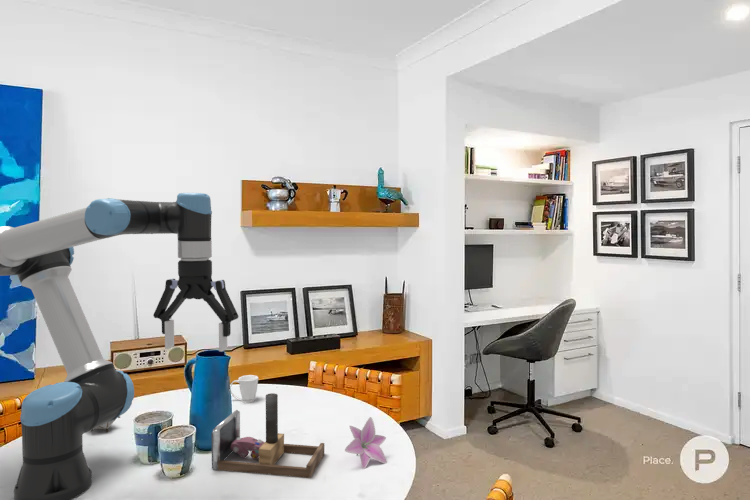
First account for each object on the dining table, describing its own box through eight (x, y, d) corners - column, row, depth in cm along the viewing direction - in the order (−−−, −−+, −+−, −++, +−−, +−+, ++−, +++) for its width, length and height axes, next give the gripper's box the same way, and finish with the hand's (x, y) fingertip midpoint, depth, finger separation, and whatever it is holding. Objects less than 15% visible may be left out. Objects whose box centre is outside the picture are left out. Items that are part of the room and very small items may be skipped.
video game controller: (232, 462, 135) (226, 443, 131) (239, 447, 139) (234, 429, 135) (267, 466, 133) (261, 447, 129) (273, 451, 136) (268, 433, 133)
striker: (270, 469, 126) (270, 402, 126) (258, 468, 127) (258, 401, 126) (284, 452, 136) (283, 389, 136) (273, 451, 137) (273, 388, 136)
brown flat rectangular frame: (310, 477, 123) (310, 465, 123) (216, 469, 127) (216, 457, 127) (324, 454, 136) (324, 443, 136) (238, 447, 140) (238, 436, 140)
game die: (110, 439, 153) (131, 410, 156) (92, 441, 145) (115, 410, 148) (89, 422, 156) (111, 394, 158) (71, 422, 148) (94, 392, 150)
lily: (336, 473, 128) (349, 446, 124) (337, 437, 139) (349, 411, 135) (381, 483, 131) (395, 457, 127) (378, 447, 141) (391, 422, 137)
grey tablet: (218, 470, 127) (217, 428, 126) (210, 469, 127) (209, 428, 127) (241, 447, 140) (240, 409, 140) (234, 446, 141) (233, 408, 140)
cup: (256, 404, 174) (255, 381, 173) (226, 404, 174) (226, 380, 173) (261, 397, 181) (260, 374, 180) (233, 397, 181) (232, 374, 180)
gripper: (251, 259, 121) (252, 347, 122) (155, 257, 125) (157, 343, 126) (238, 261, 114) (239, 355, 115) (136, 259, 118) (138, 350, 119)
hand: (196, 349), depth 121 cm, fingers open, 13 cm apart
